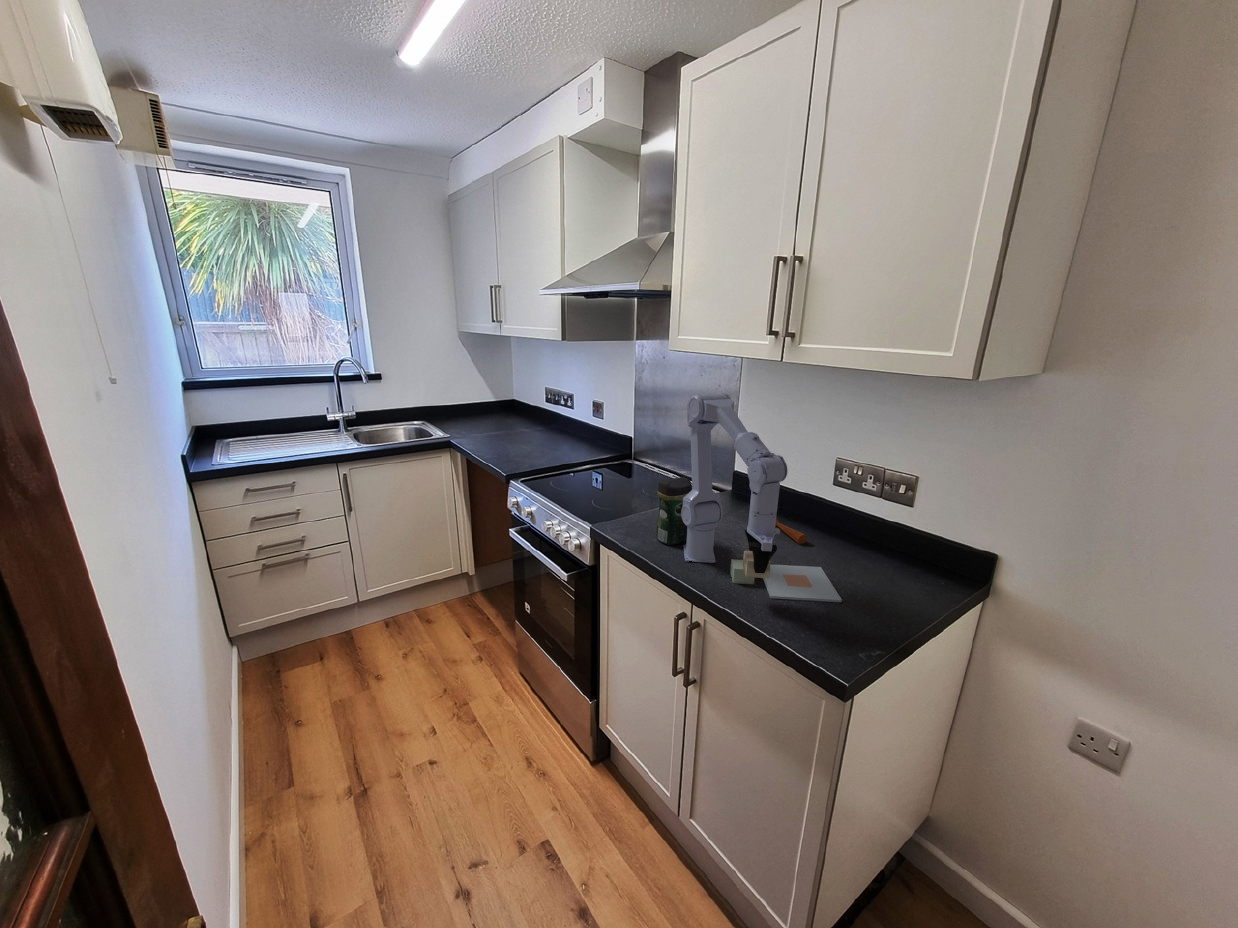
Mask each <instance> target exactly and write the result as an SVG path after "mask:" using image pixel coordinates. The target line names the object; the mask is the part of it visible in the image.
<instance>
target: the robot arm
mask: <svg viewBox="0 0 1238 928" xmlns="http://www.w3.org/2000/svg"><path fill="white" fill-rule="evenodd" d="M686 412H687V413H686V414H687V415H686V416H687V417H686V418H687V426H688V427H689V428H690V433H689V434H690V457H691V459H690V460H691V484H692V490H691V492H689V493H688V494H687V495H686V496H685V497H684V498H683V507H682V510H681V516H682V520H683V522H684V524H685V525H686V526H687V541H686V543H685V544H683V555H684V561H685V562H689V561H692V562H693V563H710V564H712V563H713V564H714V563H716V557H715V553H714V542H715V531H716V530H715V529H716V527H717V528H718V523H720V522H721V521H722V520H723V516H724V509H723V506H722V501H721V496H720V495H719V494H718V493H716V492H715V491H714V490H713V468H712V467H713V465H712V435H711V434H712V430H713V429H714V428H715V427H716V425H720V426H721V427H722V428H723V429H724V430H725V431H726V432H727V434H728V435H729V436H730V437H731V438H732V439H733V440H734V445H733V448H734V450H735V452H736V453H737V454H738V455H739V457H740V458H741V459H742V461H743V463H744V464H746V467H747V468H746V469H747V471H746V472H747V477H748V480H749V490H750V491H751V493H750V494H751V495H750V504H749V514H748V524H747V526H746V529H744V533H745V535H746V539H747V544H748V551H752V552H753V560H754V570H755V573H765V571H766V569H767V566H768V563H769V561H771V559H772V557H773V556H774V554H775V553H776V552H777V551H778V547H777V545H776V544H773V540H774V538H775V535H780V534H781V529H780V528H779V527H776V526H775V523H776V518H777V514H778V513H777V512H778V505H779V504H778V503H779V495H780V487H781V483H782V482H784V481H785V480H786V478H787V476H788V471H789V470H788V465H787V463H786V460H785V459H784V457H783V456H781V455H780V454H776V453H774V452H771V451H770V450H769V448H768V447H767V446H766V445H765V443H764V442H763V441H762V440H761V438H760V436H759V435H758V433H755V432H753V431H748V430H747V428H746V427H745V425H744V424H743V422H742V421H741V419H740V418H739V416H738V414H737V412H736V411H735V401H734V400H733V399H732V398H731V396H730V394H729V393H726V392H724V393H723V392H722V393H713V394H712V393H710V394H693V395H692V396H691V397H690V398H689V399H688V402H687V404H686ZM692 562H691V563H692Z"/></svg>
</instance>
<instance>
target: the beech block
mask: <svg viewBox="0 0 1238 928" xmlns="http://www.w3.org/2000/svg"><path fill="white" fill-rule="evenodd" d="M742 560H743V569H744V572H745V575H746V577H755V579H756V578H758V579H759V578H760V579H763V578H769V573H770V564H771V560H770V561H769V563H768V566H767V569H766V571H765V573H755V570H754V560H753V552H752V551H749V550H744V551H743V558H742ZM771 565H772V564H771Z"/></svg>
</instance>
